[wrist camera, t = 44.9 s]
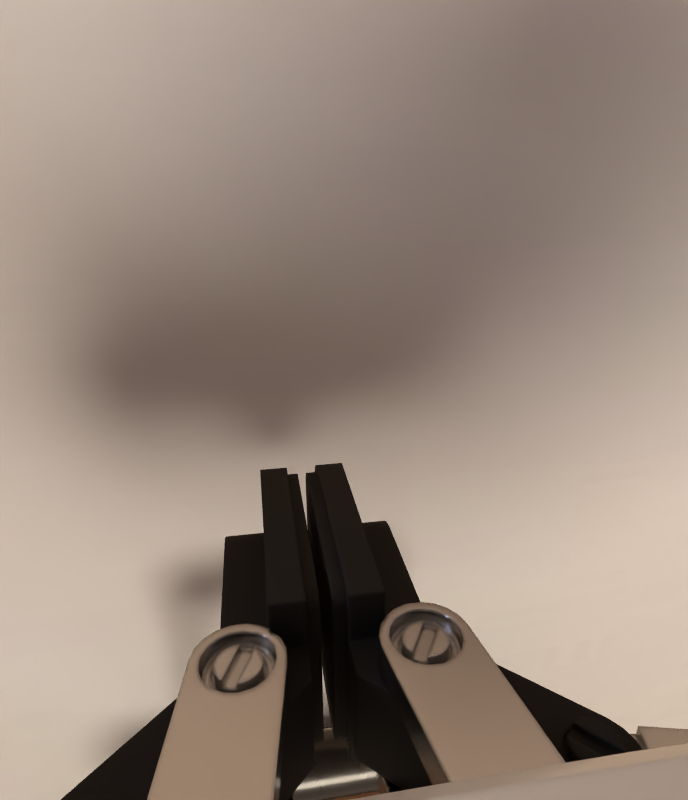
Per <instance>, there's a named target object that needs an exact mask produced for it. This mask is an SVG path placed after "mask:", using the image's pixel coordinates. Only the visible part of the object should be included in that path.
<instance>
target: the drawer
mask: <svg viewBox="0 0 688 800" xmlns="http://www.w3.org/2000/svg"><path fill="white" fill-rule="evenodd" d="M379 794H380V793H379V790H378V785H377V780H376V772H375V771H373V770H372V769H371V768H369V767H368V766H366V765H365V764H363V763H362V762H360V761H359V760H351V761H349V756H348V750H347V745H346V739H342V740H336V741H335V740H334V737H333V732H332V728H326V729H324V742H323V743H317V744H315V766H314V768H313V769H312V770H311V771H310V773H309V774H308V775H307V776H306V778H305V779H304V780H303V782H302V783H301V784H300V785H299V787H298V788H297V789H296V791H295V800H350V799H356V798H362V797H367V796H373V795H379Z"/></svg>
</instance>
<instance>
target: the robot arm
mask: <svg viewBox="0 0 688 800" xmlns="http://www.w3.org/2000/svg"><path fill="white" fill-rule="evenodd" d="M260 472H261V490H262V508H263V526H264V533H258V534H248V535H238V536H228V537H226V538H225V550H224V569H223V588H222V607H221V627H220V630H217V631H215V632H214V633H212V634H211V635H209V636H207V637H206V638H204V639H203V640H202V641H201V642H200V644H199V645H198V646H197V647H196V648H195V649H194V651H193V653H192V655H191V657H190V659H189V661H188V664H187V668H186V671H185V674H184V678H183V681H182V684H181V687H180V691H179V694H178V697H177V699H176V700H174V701H173V702H172V703H171V704H170V705H169V706H168V707H166V708H165V709H164V710H163V711H162V712H161V713H160V714H158V715H157V716H156V717H155V718H154V719H153V720H151V721H150V722H149V723H148V724H147V725H146V726H145V727H143V728H142V729H141V730H140V731H139V732H138V733H137V734H135V735H134V736H133V737H132V738H131V739H130V740H129V741H127V742H126V743H125V744H124V745H123V746H122V747H121V748H119V749H118V750H117V751H116V752H115V753H114V754H113V755H111V756H110V757H109V758H108V759H107V760H106V761H105V762H103V763H102V764H101V765H100V766H99V767H98V768H97V769H95V770H94V771H93V772H92V773H91V774H90V775H88V776H87V777H86V778H85V779H84V780H83V781H82V782H80V783H79V784H78V785H77V786H76V787H75V788H74V789H72V790H71V791H70V792H69V793H68V794H67V795H66V796H64V797H63V798H62V799H61V800H295V791H296V789H297V788H298V787H299V785H300V784H301V783H302V782H303V780H304V779H305V778H306V776H307V775H308V774H309V773H310V771H311V770H312V769H313V768H314V766H315V744H317V743H323V742H324V725H323V690H322V669H323V675H324V681H325V688H326V694H327V700H328V706H329V713H330V719H331V725H332V732H333V737H334V740H335V741H336V740H342V739H346V745H347V750H348V756H349V761H351V760H359V761H360V762H362V763H363V764H365V765H366V766H368V767H369V768H371V769H372V770H373V771H375V772H376V780H377V785H378V790H379V793H380V794H379V795H373V796H367V797H362V798H356V799H350V800H688V729H674V728H659V727H644V726H638V729H637V733H636V734H629V733H628V732H627V731H626V730H624V729H623V728H622V727H621V726H619V725H617V724H616V723H614V722H613V721H611V720H609V719H608V718H606V717H604V716H602V715H600V714H598V713H596V712H594V711H592V710H590V709H588V708H585V707H583V706H581V705H579V704H577V703H575V702H573V701H571V700H569V699H567V698H565V697H563V696H561V695H559V694H557V693H555V692H553V691H551V690H548V689H546V688H544V687H542V686H540V685H538V684H536V683H534V682H532V681H530V680H528V679H526V678H524V677H522V676H520V675H518V674H516V673H514V672H511V671H509V670H507V669H505V668H503V667H501V666H499V665H497V664H496V663H495V662H494V661H493V659H492V658H491V656H490V655H489V654H488V652H487V651H486V649H485V648H484V647H483V645H482V644H481V642H480V641H479V639H478V638H477V637H476V635H475V634H474V632H473V631H472V630H471V628H470V627H469V625H468V624H467V623H466V622H465V621H464V620H463V619H462V618H461V617H460V616H459V615H458V614H456V613H455V612H453V611H451V610H450V609H448V608H446V607H443V606H440V605H437V604H433V603H424V602H420V600H419V598H418V595H417V593H416V591H415V588H414V586H413V583H412V581H411V578H410V576H409V574H408V571H407V569H406V566H405V564H404V561H403V559H402V557H401V554H400V552H399V549H398V547H397V544H396V542H395V540H394V537H393V535H392V532H391V530H390V527H389V525H388V523H387V522H386V521H378V522H368V523H362V521H361V518H360V515H359V513H358V510H357V507H356V504H355V501H354V498H353V495H352V492H351V489H350V486H349V483H348V480H347V477H346V474H345V471H344V468H343V465H342V463H337V464H326V465H316V466H315V472H312V473H306V500H307V524H306V519H305V513H304V508H303V502H302V496H301V491H300V485H299V480H298V474H289V475H288V474H287V468H278V469H266V470H260ZM307 528H308V530H307Z"/></svg>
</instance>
